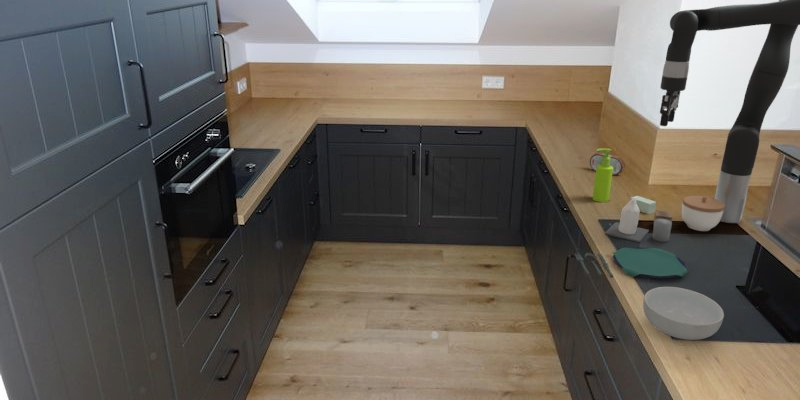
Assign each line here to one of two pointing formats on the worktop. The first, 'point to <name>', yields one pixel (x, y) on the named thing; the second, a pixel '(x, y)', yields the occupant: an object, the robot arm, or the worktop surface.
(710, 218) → the lidded bowl
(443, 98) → the worktop surface
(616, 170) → the tin
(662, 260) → the teal place setting
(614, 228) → the mat
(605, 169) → the soap dispenser
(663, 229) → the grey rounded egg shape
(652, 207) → the sage bar
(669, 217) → the walnut cube
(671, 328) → the cereal bowl
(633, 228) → the white tall lump
